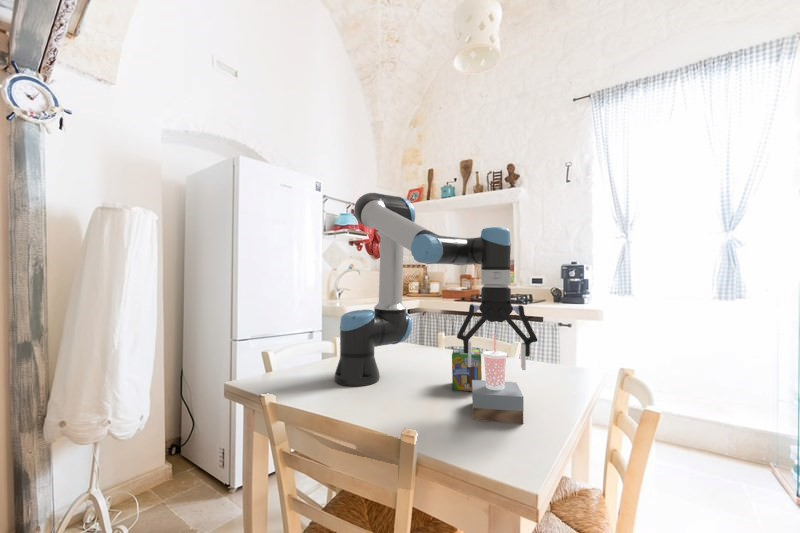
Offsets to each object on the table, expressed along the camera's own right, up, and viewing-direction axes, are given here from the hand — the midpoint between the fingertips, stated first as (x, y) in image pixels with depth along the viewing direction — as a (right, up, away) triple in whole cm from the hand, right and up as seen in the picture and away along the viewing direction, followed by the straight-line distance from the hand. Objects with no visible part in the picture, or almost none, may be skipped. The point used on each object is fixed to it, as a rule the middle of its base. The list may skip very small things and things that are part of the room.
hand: (496, 367), depth 94 cm
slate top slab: (0, -9, 0) cm, 9 cm away
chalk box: (-4, -13, +21) cm, 25 cm away
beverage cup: (0, -5, 0) cm, 5 cm away
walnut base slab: (0, -12, 0) cm, 12 cm away
